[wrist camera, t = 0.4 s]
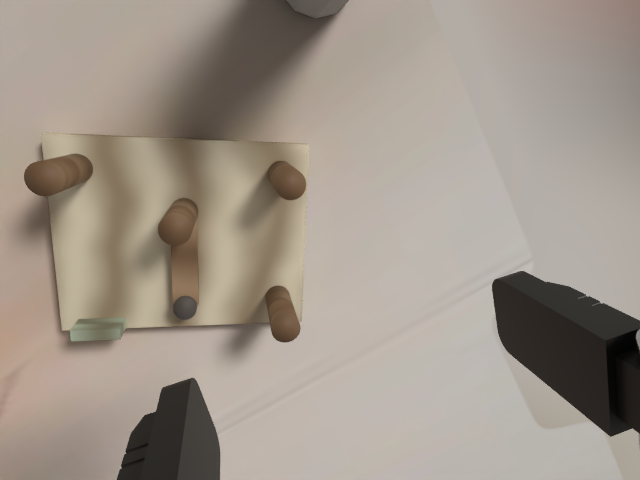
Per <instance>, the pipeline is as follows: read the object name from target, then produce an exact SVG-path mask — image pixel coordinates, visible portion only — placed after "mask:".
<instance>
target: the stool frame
mask: <svg viewBox="0 0 640 480" xmlns="http://www.w3.org/2000/svg"><path fill="white" fill-rule="evenodd" d="M41 141H42V150H43V159H44V160H42V161H38V162H34V163H32V164H30V165H29V166H28V167H27V169H26V170H25V173H24V180H25V183H26V185H27V187H28V188H29V189H30V190H31V191H32V192H33V193H35V194H37V195H40V196H48V206H49V215H50V224H51V233H52V243H53V252H54V261H55V271H56V280H57V289H58V298H59V308H60V317H61V326H62V331H66V330H70V338H71V341H93V340H117V339H121V337H122V335H123V333H124V331H125V329H126V328H144V327H170V326H196V325H222V324H248V323H270V326H271V331H272V335H273V337H274V338H275V339H276V340H278V341H280V342H290V341H292V340H294V339H295V338H296V337H297V336H298V335H299V333H300V324H299V322H300V321H302V302H303V279H304V256H305V232H306V209H307V185H308V162H309V145H308V144H300V143H277V142H253V141H229V140H206V139H182V138H158V137H135V136H111V135H88V134H64V133H42V134H41ZM180 198H188V199H190V200H192V201H193V202H195V204H196V205H197V207H198V217H197V222H198V269H199V304H198V306H197V310H196V313H195V315H194V316H193V317H192V318H190V319H187V320H182V319H179V318H177V317H176V316H175V314H174V312H173V307H174V306H173V291H172V264H171V245H169V244H167V243H165V242H164V241H163V240H162V239H161V238H160V236H159V234H158V225H159V223H160V221H161V220H162V218H163V217H164V215H165V214H166V212H167V211H168V209H169V208H170V207H171V205H172V204H173V202H174V201H176V200H177V199H180Z"/></svg>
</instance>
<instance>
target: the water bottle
mask: <svg viewBox="0 0 640 480" xmlns="http://www.w3.org/2000/svg"><path fill="white" fill-rule="evenodd" d="M286 1H287V2H288V3H289V4H290V5H291V7H292V8H293V9H294V10H295V11H297V12H300V13H302V14H305V15H308V16H310V17H313V18H319V17H324V16H328V15H333V14H336V13H337V12H338V11H339V10H340V9H341V8H342V7H343V6H344V5H345V4H346V3H347V2H348V1H349V0H286Z"/></svg>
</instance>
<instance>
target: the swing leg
mask: <svg viewBox="0 0 640 480" xmlns="http://www.w3.org/2000/svg"><path fill="white" fill-rule="evenodd" d="M197 217H198V207H197V205H196V204H195V202H193V201H192V200H190V199H188V198H180V199H177V200H176V201H174V202H173V204H172V205H171V207H170V208H169V209H168V211H167V212H166V214H165V215H164V217H163V218H162V220H161V221H160V223H159V225H158V234H159V236H160V238H161V239H162V240H163V241H164V242H165V243H167V244H169V245H171V264H172V291H173V306H174V307H173V312H174V314H175V316H176V317H177V318H179V319H182V320H187V319H190V318H192V317H193V316H194V315H195V313H196V310H197V306H198V304H199V269H198V222H197Z"/></svg>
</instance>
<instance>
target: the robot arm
mask: <svg viewBox="0 0 640 480" xmlns="http://www.w3.org/2000/svg"><path fill="white" fill-rule="evenodd" d="M492 291H493V299H494V306H495V313H496V321H497V328H498V334H499V337H500V339H501V342H502V344H503V346H504V347H505V349H506V350H507V351H508V352H509V353H510V354H511V355H512V356H513V357H514V358H515V359H517V360H518V361H519V362H520V363H521V364H523V365H524V366H525V367H526V368H528V369H529V370H530V371H531V372H532V373H534V374H535V375H536V376H537V377H539V378H540V379H541V380H542V381H543V382H545V383H546V384H547V385H548V386H550V387H551V388H552V389H553V390H554V391H556V392H557V393H558V394H559V395H560V396H562V397H563V398H564V399H565V400H567V401H568V402H569V403H570V404H571V405H573V406H574V407H575V408H576V409H578V410H579V411H580V412H581V413H582V414H584V415H585V416H586V417H587V418H588V419H590V420H591V421H592V422H593V423H595V424H596V425H597V426H598V427H599V428H601V429H602V430H603V431H604V432H605V433H607V434H608V435H609V436H614V435H616V434H619V433H621V432H624V431H627V430H629V429H632V428H633V429H634V430H635V431H637V432H638V433H639V448H640V321H639V320H637V319H635V318H633V317H631V316H629V315H627V314H625V313H623V312H621V311H619V310H616V309H614V308H612V307H610V306H608V305H606V304H604V303H603V304H601V303H600V301H598V300H596V299H594V298H592V297H587V296H586V295H585V294H583V293H581V292H579V291H577V290H575V289H573V288H571V287H568V286H564V285H560V284H555V283H550V282H544V281H542V280H540V279H538V278H536V277H534V276H532V275H530V274H528V273H526V272H524V271H519V272H516V273H513V274H510V275H507V276H504V277H501V278H498V279H495V280H494V281H493V284H492ZM121 467H122V469H120V471H119V474H118V477H117V480H220V447H219V441H218V436H217V433H216V429H215V427H214V424H213V421H212V419H211V416H210V414H209V411H208V409H207V406H206V403H205V401H204V398H203V396H202V393H201V390H200V388H199V385H198V383H197V381H196V380H195V379H194V378H190V379H187V380H184V381H181V382H178V383H175V384H172V385H169V386H166V387H163V388H162V390H161V394H160V398H159V402H158V406H157V410H156V412H153V413H150V414H147V415H145V416H144V417H143V418H142V420H141V421H140V422H139V423H138V425H137V426H136V427H135V429H134V430H133V431H132V433H131V435H130V438H129V442H128V445H127V448H126V454H125V455H124V458H123V461H122V464H121Z"/></svg>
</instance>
